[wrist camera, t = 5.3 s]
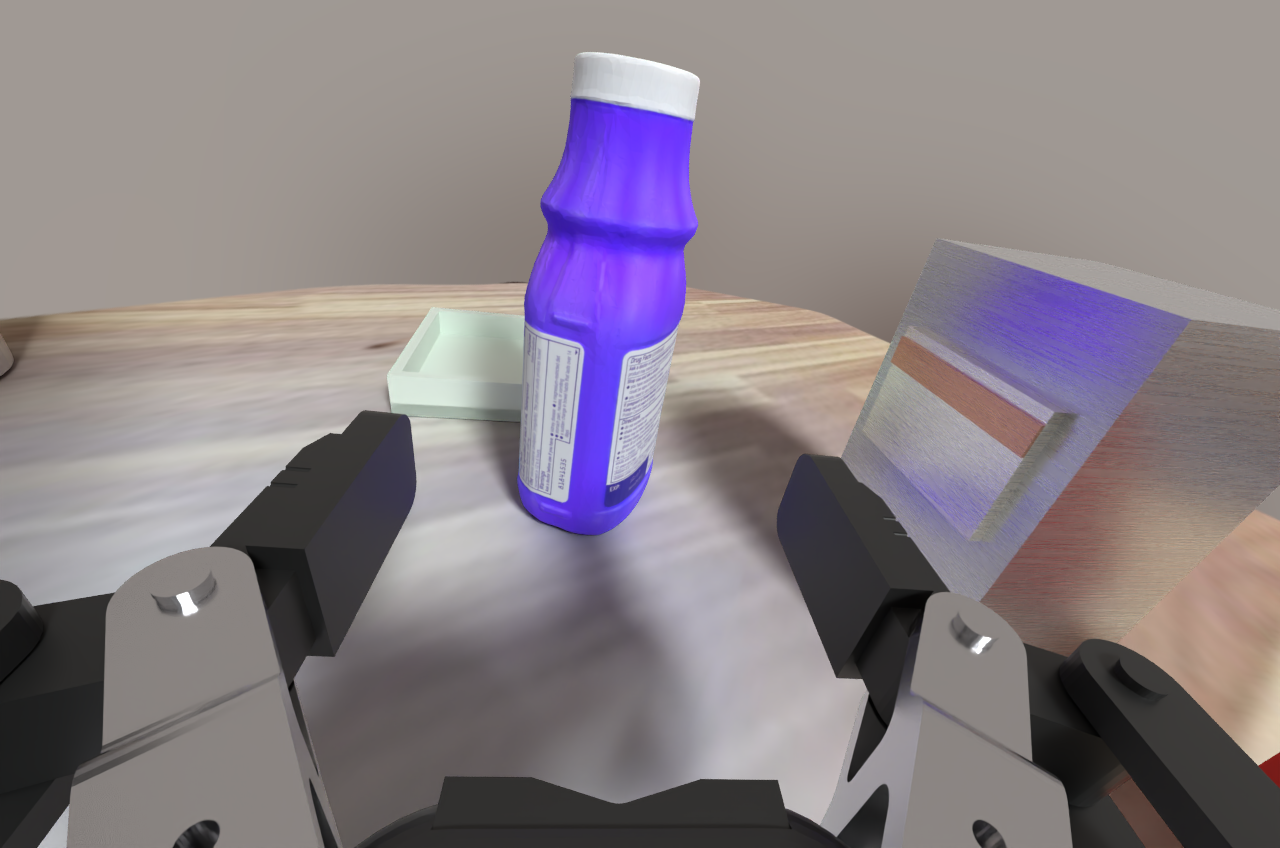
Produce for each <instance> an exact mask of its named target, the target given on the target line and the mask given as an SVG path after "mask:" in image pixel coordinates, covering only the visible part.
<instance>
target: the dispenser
mask: <svg viewBox="0 0 1280 848" xmlns="http://www.w3.org/2000/svg"><path fill="white" fill-rule="evenodd" d="M841 459H842V460H843V461H844V462H845V464H846V465H847V467H848V468H849V469H850V471H851V472H852V474H853V475H854V477H855V478H856V479H857V481H858V482H862V483H863V484H864V485H866V486H867V487H868V488H869V489H871V490H872V491H873V492H874V493H876V494H877V495H878V496H879V497H881V498H882V499H883V500H884V502H885V503H886V504H887V506H888V507H889V509H890V510H891V511H892V513H893V514H894V515H895V517H896V521H899V522H900V524H901V525H902V526H903V528H904V529H905V531H906V532H907V537H911V539H912V540H913V541H914V543H915V544H916V546H917V547H918V548H919V550H920V551H921V552H922V554H923V555H924V557H925V558H926V559H927V561H928V562H929V563H930V565H931V566H932V567H933V569H934V570H935V572H936V573H937V574H938V576H939V577H940V578H941V580H942V581H943V583H944V584H945V585H946V587H947V588H948V589H949V591H950V592H951V593H956V594H961V595H964V596H967V597H969V598H971V599H974V600H976V601H978V602H980V603H982V604H983V605H985V606H987V607H988V608H990V609H991V610H993V611H994V612H995V613H997V614H998V615H999V616H1000V617H1002V618H1003V619H1004V620H1005V621H1006V622H1007V623H1008V624H1009V625H1010V626H1011V627H1012V628H1013V629H1014V631H1015V632H1016V633H1017V635H1018V636H1019V637H1020V639H1021V641H1022V642H1023V643H1026V644H1029V645H1032V646H1035V647H1038V648H1041V649H1044V650H1048V651H1051V652H1054V653H1057V654H1060V655H1063V656H1066V657H1069V656H1070V655H1071V654H1072V653H1073V652H1074V651H1075V650H1076V649H1077V648H1078V646H1079V645H1080V644H1081V643H1082V642H1084V641H1086V640H1088V639H1102V640H1107V641H1111V642H1114V643H1118V642H1119V641H1120V640H1121V639H1122V638H1123V637H1124V636H1125V635H1126V634H1127V633H1128V632H1129V631H1130V630H1131V629H1132V628H1133V627H1134V626H1135V625H1136V624H1137V623H1138V622H1139V621H1140V620H1141V619H1142V618H1143V617H1144V616H1145V615H1147V614H1148V613H1149V612H1150V611H1151V610H1152V609H1153V608H1154V607H1155V606H1156V605H1157V604H1158V603H1159V602H1160V601H1161V600H1162V599H1163V598H1164V597H1165V596H1166V595H1167V594H1168V593H1169V592H1170V591H1171V590H1172V589H1173V588H1174V587H1175V586H1176V585H1177V584H1178V583H1179V582H1180V581H1182V580H1183V579H1184V578H1185V577H1186V576H1187V575H1188V574H1189V573H1190V572H1191V571H1192V570H1193V569H1194V568H1195V567H1196V566H1197V565H1198V564H1199V563H1200V562H1201V561H1202V560H1203V559H1204V558H1205V557H1206V556H1207V555H1208V554H1209V553H1210V552H1211V551H1212V550H1213V549H1214V548H1215V547H1217V546H1218V545H1219V544H1220V543H1221V542H1222V541H1223V540H1224V539H1225V538H1226V537H1227V536H1228V535H1229V534H1230V533H1231V532H1232V531H1233V530H1234V529H1235V528H1236V527H1237V526H1238V525H1239V524H1240V523H1241V522H1242V521H1243V520H1244V519H1245V518H1246V517H1247V516H1248V515H1249V514H1250V513H1252V512H1253V511H1254V510H1255V509H1256V508H1257V507H1258V506H1259V505H1260V504H1261V503H1262V502H1263V501H1264V500H1265V499H1266V498H1267V497H1268V496H1269V495H1270V494H1271V493H1272V492H1273V491H1274V490H1275V489H1276V488H1277V487H1278V486H1279V485H1280V310H1278V309H1273V308H1270V307H1266V306H1263V305H1259V304H1255V303H1251V302H1248V301H1244V300H1240V299H1236V298H1233V297H1229V296H1225V295H1222V294H1218V293H1214V292H1210V291H1207V290H1203V289H1199V288H1196V287H1192V286H1188V285H1184V284H1180V283H1177V282H1173V281H1169V280H1165V279H1162V278H1158V277H1155V276H1151V275H1147V274H1143V273H1139V272H1136V271H1132V270H1128V269H1125V268H1121V267H1117V266H1113V265H1110V264H1106V263H1102V262H1096V261H1090V260H1083V259H1077V258H1070V257H1063V256H1056V255H1049V254H1043V253H1035V252H1029V251H1022V250H1015V249H1008V248H1002V247H995V246H988V245H981V244H975V243H968V242H961V241H954V240H947V239H941V238H937V239H936V241H935V243H934V245H933V248H932V250H931V253H930V255H929V257H928V259H927V261H926V264H925V266H924V268H923V271H922V273H921V275H920V278H919V280H918V282H917V284H916V287H915V289H914V292H913V294H912V296H911V298H910V301H909V303H908V305H907V308H906V310H905V312H904V314H903V317H902V319H901V321H900V323H899V326H898V328H897V330H896V333H895V335H894V337H893V340H892V342H891V344H890V346H889V349H888V351H887V353H886V356H885V358H884V360H883V362H882V365H881V367H880V369H879V372H878V374H877V376H876V379H875V381H874V383H873V385H872V388H871V390H870V392H869V395H868V397H867V399H866V401H865V404H864V406H863V408H862V411H861V413H860V415H859V418H858V420H857V422H856V424H855V427H854V429H853V431H852V434H851V436H850V438H849V440H848V443H847V445H846V447H845V450H844V452H843V454H842V457H841Z"/></svg>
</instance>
